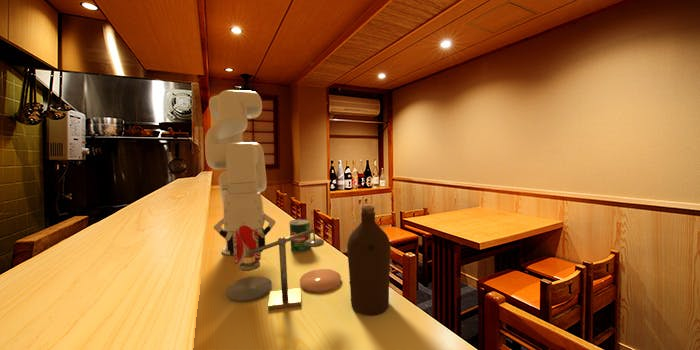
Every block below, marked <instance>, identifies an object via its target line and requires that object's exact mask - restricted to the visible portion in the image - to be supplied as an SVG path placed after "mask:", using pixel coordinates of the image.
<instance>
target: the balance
mask: <svg viewBox="0 0 700 350" xmlns="http://www.w3.org/2000/svg"><path fill="white" fill-rule="evenodd" d="M308 234H310V235H312V234H313V235H312V236H313V238H311V239H309V240H306V241H305V246H307V247H311V248H318V247H321V246H324V244H325V240H324V239H323V238H316V231H315V229H314V228H310V230H308V231H305V232H302V233H299V234H296V235H293V236H290V235H289V236H288V237H284V236H281V237H279V238H278V239H277V240H276V241H274V242H271V243H268V244H265V246H262V247H259V248H256V249H253V250H250V251H248V255H247V256H245V257H244V262H243V263H241V264H240V265H238V269H239V271H242V272H250V271H255V270H257V269H259V268H260V267H261V262H260V260H259V261H255V256H254V255H251V254H254V253H257V252H259V251H262V250H263V251H265V250H267V249H271V248H273V247H277V246H278V253H279V266H280V267H279V268H280V285H281V286H280V288H281V289H280V290H271V291H270V292H269V297H268V298H269V299H268V305H267V310H268V311H273V310H274V311H275V310H281V309H291V308H298V307H302V299H301V298H302V297H301V296H302V295H301V287H298V288H297V287H296V288H290V289H289V287H288V285H289V284H288V268H287V251H286V250H287V249H286V247H287V245H286V244H287V243H288V242H291V240H294V239H297V238H300V237H302V236H305V235H308ZM263 251H262V252H263Z"/></svg>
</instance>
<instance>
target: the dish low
mask: <svg viewBox="0 0 700 350" xmlns="http://www.w3.org/2000/svg"><path fill="white" fill-rule="evenodd" d="M272 287H273V285H272V280H271V279H270V278H268V277H265V276H249V277H248V276H247V277H244V278H242V279H238V280H236V281H234V282H232V283H231V284H229V286H228V287H227V288H226V290H225V291H226V297H227V299H228V300H230V301H232V302H235V303H236V302H237V303H247V302H252V301H256V300H258V299H261V298H263V297H265V296H266V295H268V294H270V292H271V291H272V289H273V288H272ZM270 290H271V291H270ZM267 293H268V294H267Z"/></svg>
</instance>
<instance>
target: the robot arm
mask: <svg viewBox="0 0 700 350" xmlns="http://www.w3.org/2000/svg"><path fill="white" fill-rule="evenodd" d="M208 107H209V112H210V116H211V118H212V121H213V125H211V126H210V128H209V129H208V130H207V132H206V134H205V138H204V145H205V146H204V152H205V154H204V155H205V161H206V164H207V165H208V167H209V168H211V169H212V170H226V171H224V172H221V173H220V174H219V176H218V185H219V191H220V195H221V200H222V208H223V218H221V219H220V220H219V221H218V222H217V223H216V224H215V225H214V226H213V230H215V231H216V232H217V234H219V235H220V236H221V237H222V238H223V239H224V240H225V245H224V246H223V247H222V248H221V251H222V254H224V255H228V256H234V251H233V237H232V234H233V232H235V231H236V230H237V229H238V228H239V227H240V226H243V225H241V224H242V223H246V224H244V225H245V226H248V227H250V228H251V229H252V230H258V233H259V235H260V238H259V247H262V246H265V245H266V236H267V234H268V233H270V231H271V230H272V229H273V227H274V226H275V225H276V220H275V219H273V218H272V217H271V216H269V215H267V214H266V213H265V210H264V203H263V198H262V195H261V193H262V192H264V191H265V190H266V189H267V186H268V185H267V183H268V182H267V173H266V172H267V171H266V163H265V162H266V160H265V154H264V148H263V147H262V145H261V143H258V142H254V141H250V142H249V141H248V142H244V141H243V139H244V138H243V133H244V132H245V131H246V130H247V128H248V126H249V125H248V119H249V120H250V119H256V118H258V117H260V115H261V114H262V111H263V101H262V98H261V96H260V95H259V93H258V92H256V91H252V90H238V89H236V90H235V89H226V90H223V91H221V92H220V93H219V94H217V95H214V96H212V97H210V99H208ZM265 222H267V223H268V225H267V226H266V227H265V228H264V225H265ZM222 226H223V227H222ZM263 251H264V250H262V251H260V252H261V253H262V252H263Z"/></svg>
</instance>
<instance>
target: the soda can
mask: <svg viewBox="0 0 700 350" xmlns="http://www.w3.org/2000/svg"><path fill="white" fill-rule="evenodd" d="M244 224H246V223H242V224H241V225H243V226H240V227H239V228H238V229H237V230H236V231H235V232H233V234H232V237H233V251H234V255H233V259H234V264H236V265H238V266H239V265H240V264H241V263H243V262H244V257H245V256H247V255H248V251H250V250H253V249H256V248H259V238H260V235H259V233H258V230H252V229H251V228H250V227H248V226H245V225H244ZM261 254H262V252H260V251H259V252H257V253H254V254H251V255H254V256H255V261H259V262H260V260H261V256H262V255H261Z"/></svg>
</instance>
